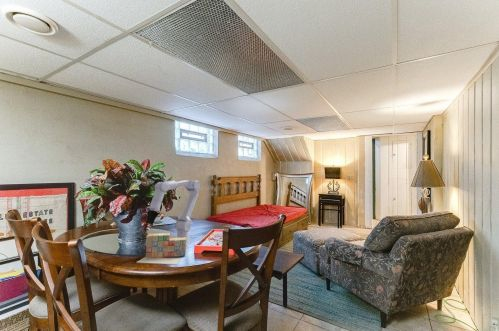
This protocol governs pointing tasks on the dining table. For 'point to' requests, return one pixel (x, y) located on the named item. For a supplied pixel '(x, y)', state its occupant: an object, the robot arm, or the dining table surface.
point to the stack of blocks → (164, 246)
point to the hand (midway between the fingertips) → (149, 223)
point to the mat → (160, 260)
